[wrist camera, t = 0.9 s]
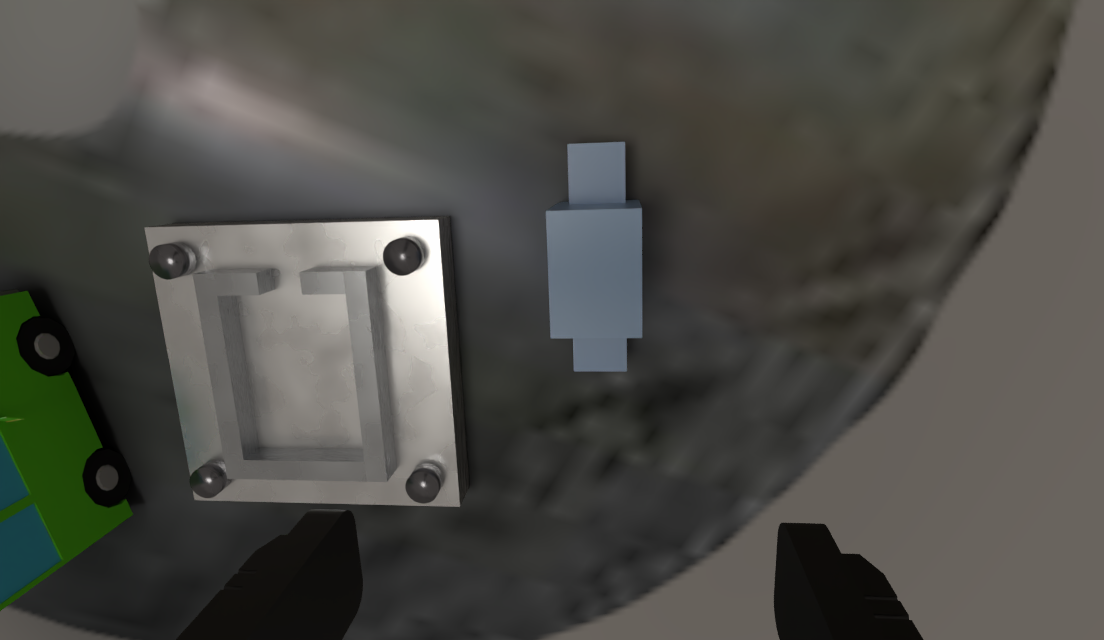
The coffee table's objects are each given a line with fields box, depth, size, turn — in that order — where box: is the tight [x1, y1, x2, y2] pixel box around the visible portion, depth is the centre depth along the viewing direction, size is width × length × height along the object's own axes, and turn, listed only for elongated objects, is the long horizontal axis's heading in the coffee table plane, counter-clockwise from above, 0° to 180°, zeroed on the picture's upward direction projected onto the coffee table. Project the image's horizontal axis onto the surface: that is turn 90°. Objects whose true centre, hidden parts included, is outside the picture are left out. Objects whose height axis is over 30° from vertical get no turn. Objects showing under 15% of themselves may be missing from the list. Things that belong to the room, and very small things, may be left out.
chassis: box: [145, 216, 469, 507], centre depth 31 cm, size 14×14×3 cm
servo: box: [546, 142, 642, 371], centre depth 27 cm, size 10×4×6 cm, turn 2°
